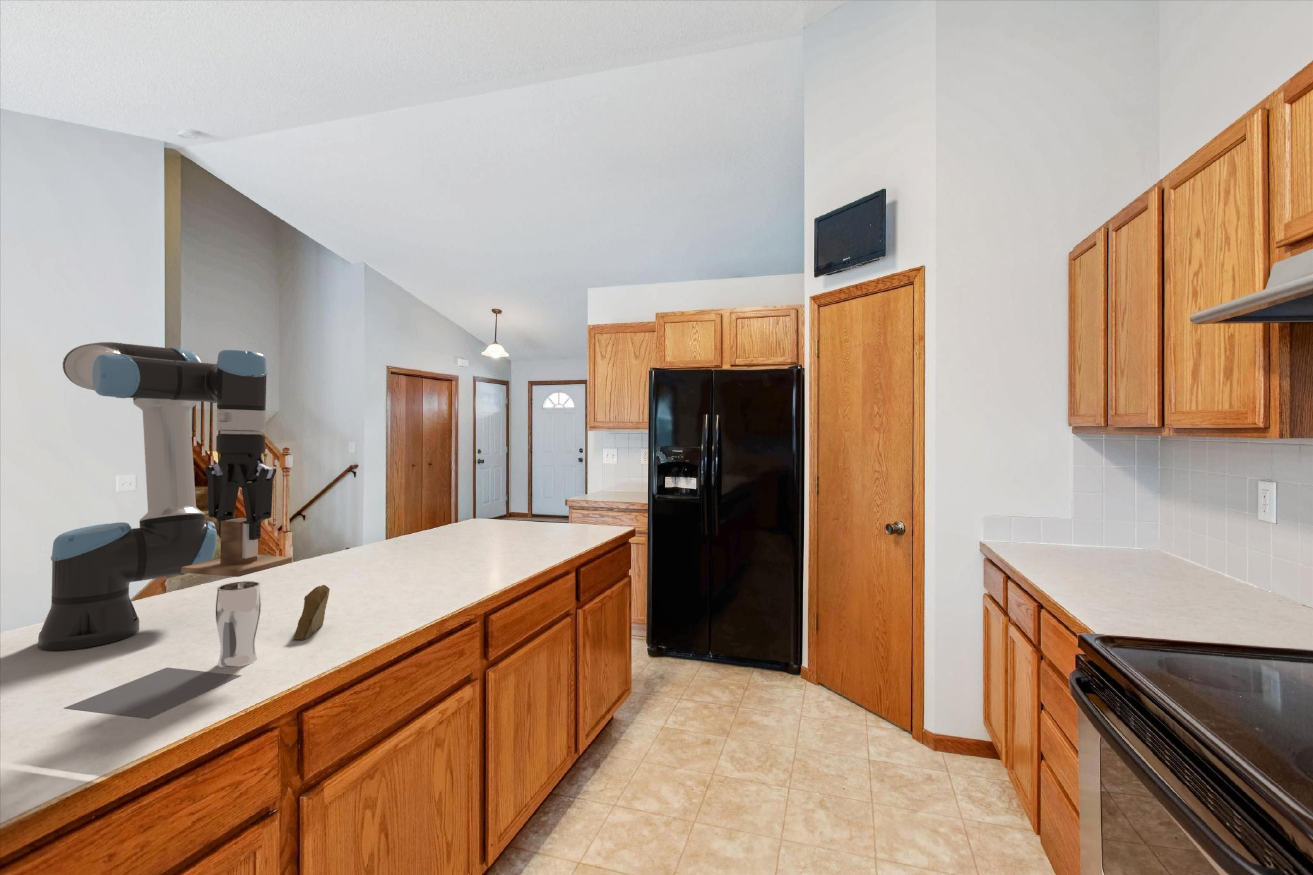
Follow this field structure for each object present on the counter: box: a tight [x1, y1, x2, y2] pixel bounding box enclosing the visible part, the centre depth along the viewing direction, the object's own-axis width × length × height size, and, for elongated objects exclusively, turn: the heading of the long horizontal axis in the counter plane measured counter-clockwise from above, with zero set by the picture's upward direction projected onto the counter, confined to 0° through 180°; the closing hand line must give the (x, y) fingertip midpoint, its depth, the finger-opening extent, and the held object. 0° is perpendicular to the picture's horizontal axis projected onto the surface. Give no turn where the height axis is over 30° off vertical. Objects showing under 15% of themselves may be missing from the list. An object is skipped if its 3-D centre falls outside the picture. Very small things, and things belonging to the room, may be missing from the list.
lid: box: [181, 517, 293, 578], centre depth 109 cm, size 12×12×9 cm
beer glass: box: [215, 580, 262, 669], centre depth 109 cm, size 7×7×15 cm
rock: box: [292, 584, 330, 640], centre depth 127 cm, size 11×9×10 cm
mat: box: [64, 667, 242, 720], centre depth 96 cm, size 16×16×1 cm
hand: (239, 555), depth 109 cm, fingers closed on lid, 4 cm apart
